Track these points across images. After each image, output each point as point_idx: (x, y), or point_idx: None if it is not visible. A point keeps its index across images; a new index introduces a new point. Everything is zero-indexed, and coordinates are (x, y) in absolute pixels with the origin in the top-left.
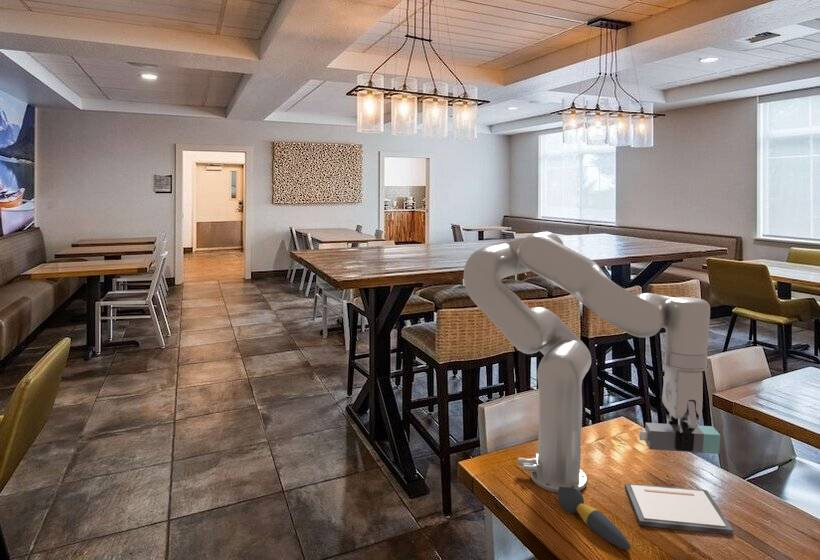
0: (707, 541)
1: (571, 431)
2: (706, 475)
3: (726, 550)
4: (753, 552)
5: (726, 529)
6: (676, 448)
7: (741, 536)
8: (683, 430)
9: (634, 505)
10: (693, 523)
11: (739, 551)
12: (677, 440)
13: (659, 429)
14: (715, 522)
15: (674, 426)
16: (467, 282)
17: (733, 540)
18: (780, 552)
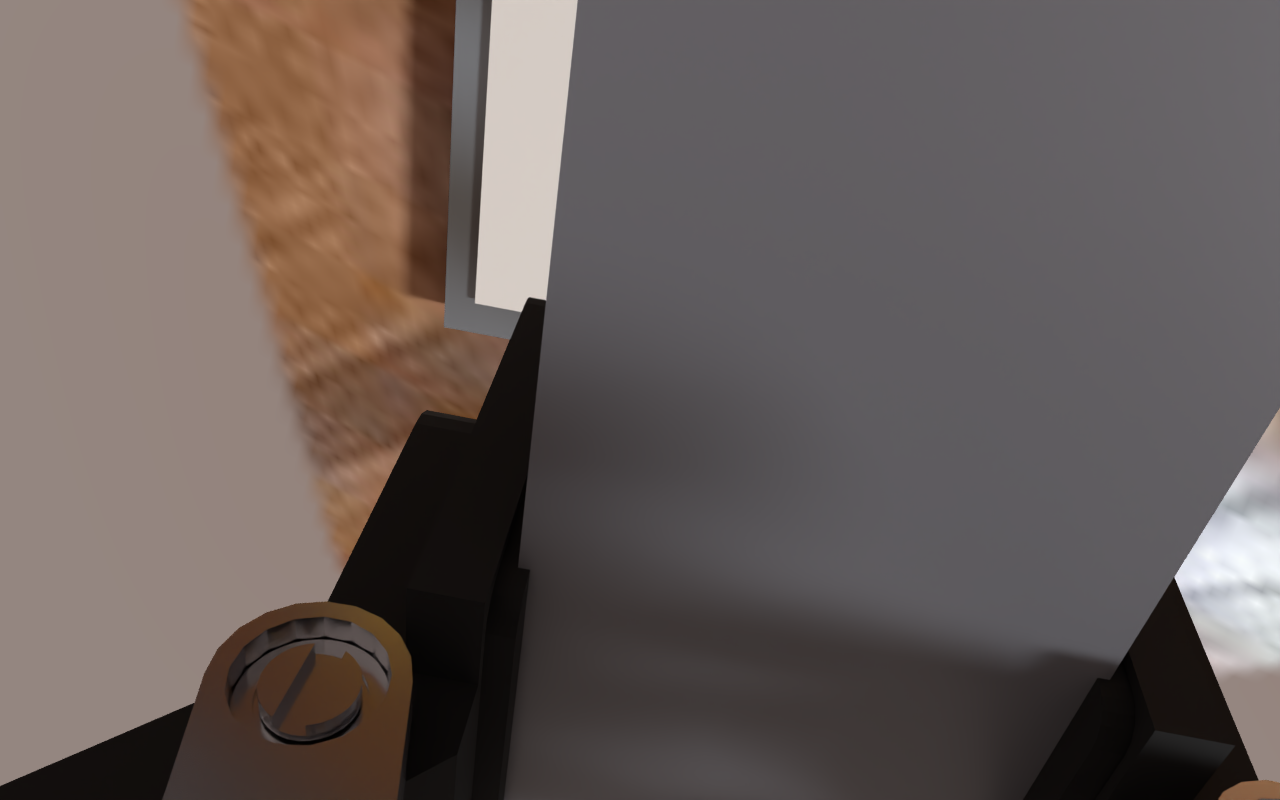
0: (340, 81)
1: None
2: (1257, 548)
3: (258, 164)
4: (280, 324)
5: (447, 286)
6: (526, 310)
7: (445, 349)
8: (166, 741)
9: None
10: (488, 67)
11: (268, 245)
12: (477, 431)
13: (745, 185)
14: (512, 252)
15: (921, 689)
16: None
17: (389, 275)
18: (317, 465)
